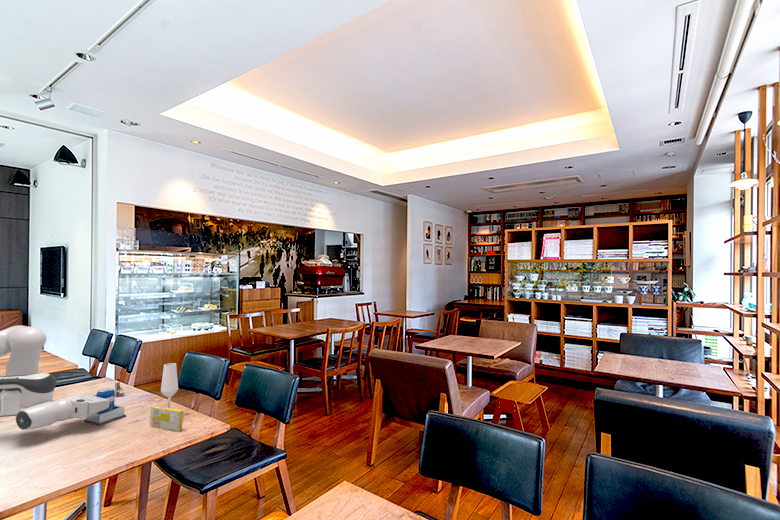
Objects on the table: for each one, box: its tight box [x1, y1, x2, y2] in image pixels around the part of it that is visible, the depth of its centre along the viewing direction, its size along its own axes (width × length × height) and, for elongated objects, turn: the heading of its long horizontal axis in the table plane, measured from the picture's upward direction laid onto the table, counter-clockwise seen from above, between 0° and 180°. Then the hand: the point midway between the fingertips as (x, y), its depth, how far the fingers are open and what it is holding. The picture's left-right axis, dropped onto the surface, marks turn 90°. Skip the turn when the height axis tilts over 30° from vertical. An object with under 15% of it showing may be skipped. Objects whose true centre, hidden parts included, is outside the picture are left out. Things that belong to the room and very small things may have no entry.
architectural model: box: [114, 381, 125, 397], centre depth 201 cm, size 3×7×7 cm, turn 41°
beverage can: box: [95, 387, 116, 413], centre depth 169 cm, size 6×6×12 cm
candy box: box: [149, 405, 184, 432], centre depth 160 cm, size 16×2×8 cm, turn 71°
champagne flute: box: [160, 362, 179, 409], centre depth 170 cm, size 7×7×24 cm
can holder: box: [83, 404, 127, 427], centre depth 169 cm, size 11×11×4 cm
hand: (107, 396), depth 170 cm, fingers open, 6 cm apart
